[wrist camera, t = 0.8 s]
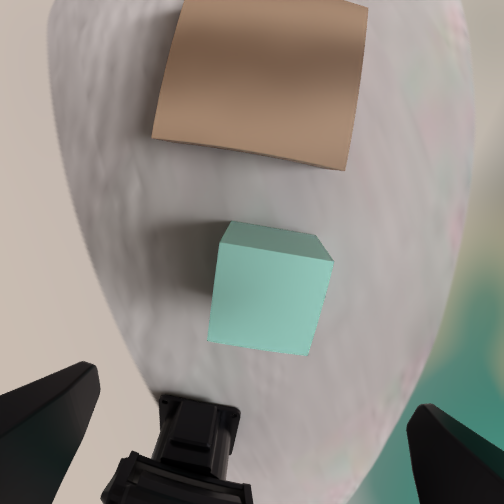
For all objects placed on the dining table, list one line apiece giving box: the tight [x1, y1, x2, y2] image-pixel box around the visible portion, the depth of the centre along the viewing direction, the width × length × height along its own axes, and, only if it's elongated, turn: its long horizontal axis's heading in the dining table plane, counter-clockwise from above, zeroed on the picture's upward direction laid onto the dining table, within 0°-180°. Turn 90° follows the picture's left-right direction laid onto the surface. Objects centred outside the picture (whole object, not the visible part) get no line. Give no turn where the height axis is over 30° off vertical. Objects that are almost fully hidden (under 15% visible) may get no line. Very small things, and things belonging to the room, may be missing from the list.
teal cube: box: [207, 221, 334, 356], centre depth 16 cm, size 5×5×5 cm
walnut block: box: [151, 0, 368, 171], centre depth 14 cm, size 9×9×4 cm
